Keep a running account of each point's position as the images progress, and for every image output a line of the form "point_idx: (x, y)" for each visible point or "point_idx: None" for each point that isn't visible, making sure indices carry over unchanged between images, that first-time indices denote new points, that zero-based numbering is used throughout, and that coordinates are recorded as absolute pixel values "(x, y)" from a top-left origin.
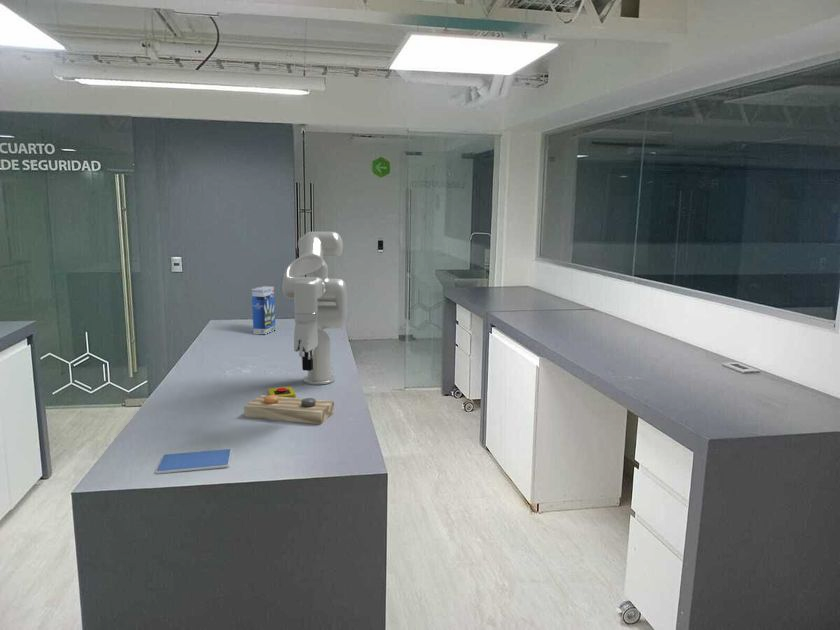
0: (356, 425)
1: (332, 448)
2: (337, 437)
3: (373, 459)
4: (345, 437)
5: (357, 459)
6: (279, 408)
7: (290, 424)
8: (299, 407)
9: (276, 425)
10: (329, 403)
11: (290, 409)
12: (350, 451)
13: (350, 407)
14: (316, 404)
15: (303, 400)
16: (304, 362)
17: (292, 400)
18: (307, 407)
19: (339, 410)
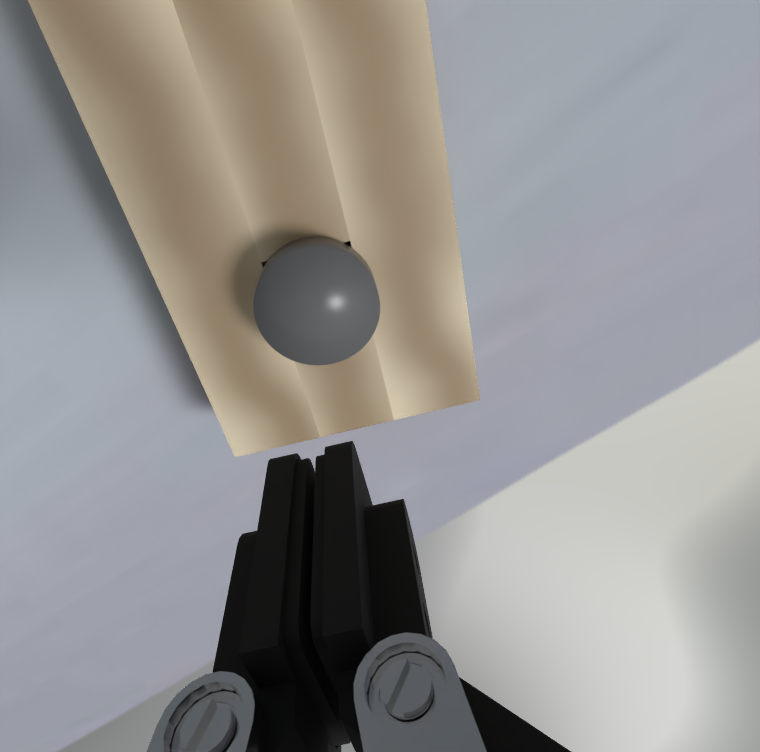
0: None
1: (31, 610)
2: (146, 565)
3: (72, 734)
4: (171, 587)
5: (28, 707)
6: (86, 111)
7: (112, 251)
8: (227, 265)
9: (20, 168)
10: (424, 400)
11: (139, 229)
12: (65, 664)
13: (576, 391)
14: None
15: (290, 274)
16: (230, 641)
17: (352, 67)
18: None
19: (503, 367)
